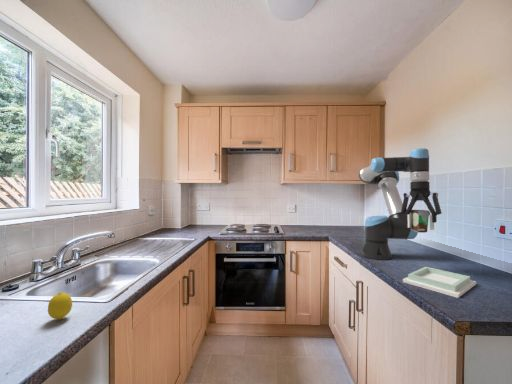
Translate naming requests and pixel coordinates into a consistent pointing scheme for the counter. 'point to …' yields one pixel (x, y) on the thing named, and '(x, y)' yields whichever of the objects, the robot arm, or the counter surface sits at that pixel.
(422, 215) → the food container
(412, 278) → the pocket plate
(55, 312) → the lemon
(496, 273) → the counter surface
